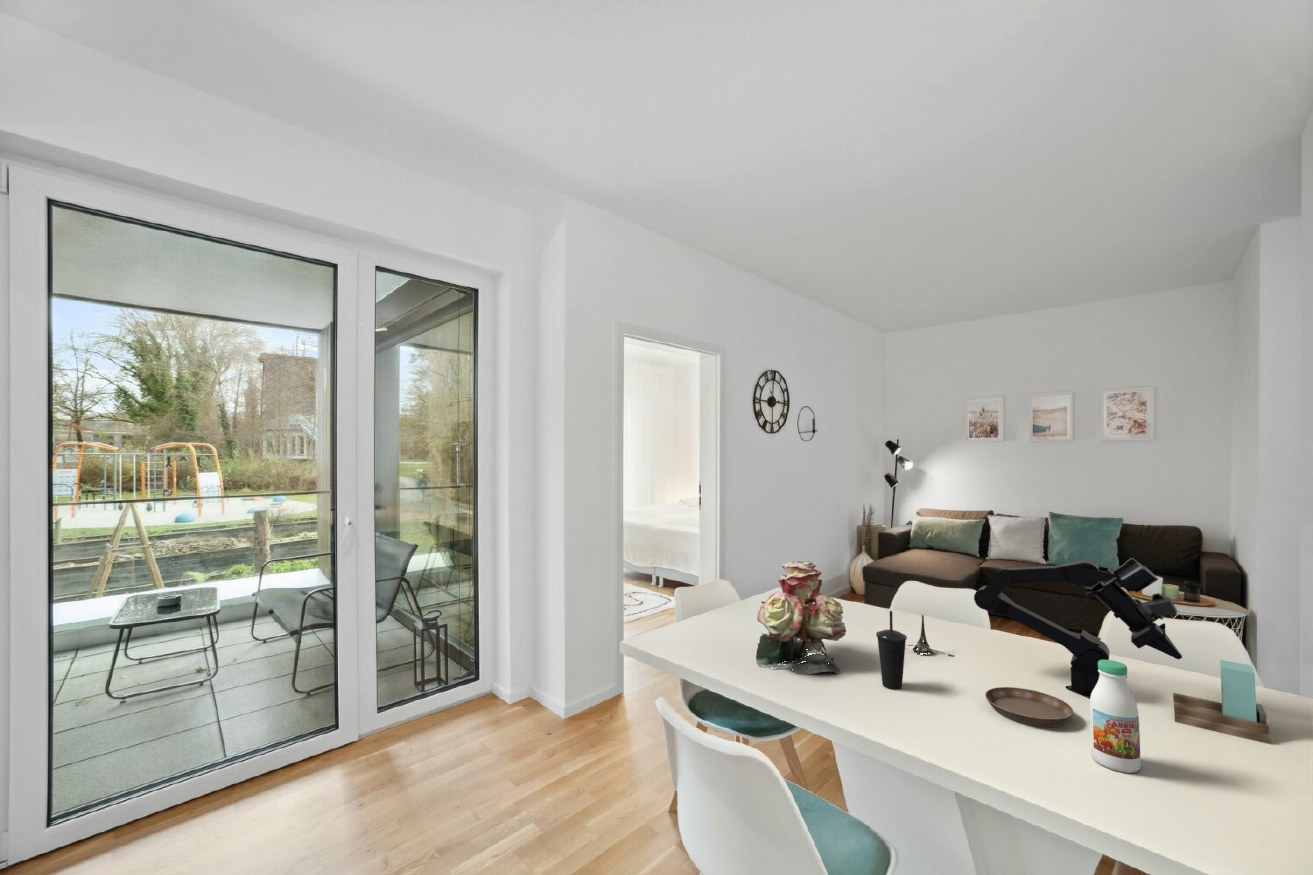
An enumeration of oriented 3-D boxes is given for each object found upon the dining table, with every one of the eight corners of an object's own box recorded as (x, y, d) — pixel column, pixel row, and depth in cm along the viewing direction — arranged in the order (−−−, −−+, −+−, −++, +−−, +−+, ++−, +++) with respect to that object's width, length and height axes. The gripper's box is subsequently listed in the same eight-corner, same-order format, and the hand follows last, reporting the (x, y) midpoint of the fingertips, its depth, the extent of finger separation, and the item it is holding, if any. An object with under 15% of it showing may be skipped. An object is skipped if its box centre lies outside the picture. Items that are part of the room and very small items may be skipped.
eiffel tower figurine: (957, 657, 171) (956, 614, 171) (940, 665, 165) (939, 620, 165) (910, 644, 183) (909, 603, 183) (893, 650, 177) (892, 608, 177)
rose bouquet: (752, 672, 159) (751, 567, 160) (767, 640, 186) (766, 551, 187) (846, 684, 150) (844, 573, 151) (848, 649, 177) (846, 555, 178)
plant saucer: (968, 704, 138) (968, 692, 138) (1018, 693, 144) (1018, 681, 144) (1039, 738, 122) (1038, 724, 122) (1091, 724, 128) (1091, 710, 128)
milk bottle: (1081, 753, 115) (1078, 656, 115) (1115, 752, 115) (1112, 655, 116) (1115, 775, 107) (1111, 671, 108) (1151, 773, 108) (1148, 669, 108)
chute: (1174, 721, 128) (1174, 699, 128) (1173, 702, 138) (1172, 682, 138) (1270, 744, 118) (1269, 720, 118) (1262, 722, 128) (1261, 700, 128)
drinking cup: (907, 683, 150) (906, 609, 151) (907, 694, 144) (906, 616, 144) (877, 678, 154) (876, 606, 154) (876, 688, 147) (874, 613, 147)
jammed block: (1224, 720, 125) (1222, 667, 126) (1222, 711, 130) (1220, 660, 130) (1256, 727, 122) (1254, 673, 122) (1253, 718, 126) (1251, 665, 127)
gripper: (1149, 593, 130) (1216, 652, 122) (1151, 577, 143) (1211, 629, 136) (1106, 619, 135) (1168, 677, 128) (1112, 601, 149) (1168, 653, 141)
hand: (1180, 658), depth 133 cm, fingers closed
